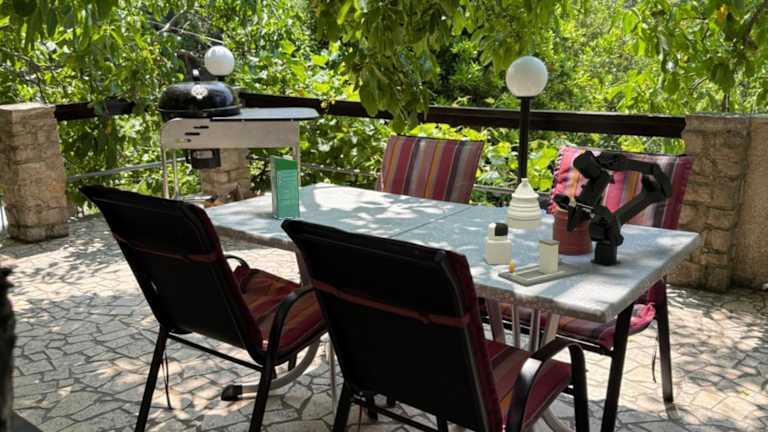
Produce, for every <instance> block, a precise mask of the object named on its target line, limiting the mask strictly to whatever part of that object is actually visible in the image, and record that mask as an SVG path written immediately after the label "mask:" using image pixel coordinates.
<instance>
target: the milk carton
mask: <svg viewBox="0 0 768 432" xmlns="http://www.w3.org/2000/svg"><path fill="white" fill-rule="evenodd" d="M269 165H270V166H269V167H270V170H269V171H270V187H271V188H270V189H271V205H272V206H271V207H272V208H271V209H272V210H271V211H272V216H273V215H275V216H276V217H277V218H284V220H286V219H285V217H286V218H287V217H297V218H296V219H300V218H301V213H300V211H301V210H300V207H301V206H300V189H299V186H300V185H299V167H298V165H299V163H298V161H297V160H295V159H294V157H293V156H291V155H286V154H283V155H282V156H279V155H274V154H273V155H272V154H269Z"/></svg>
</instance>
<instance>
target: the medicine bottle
mask: <svg viewBox="0 0 768 432" xmlns="http://www.w3.org/2000/svg"><path fill="white" fill-rule="evenodd" d="M487 228H488V231H487V232H488V234H487V235H488V236H485V237H484V260H485V261H486V262H487V264H488V265H510V262H512V243H513V242H512V241H511V240H510V238H509V227H508V225H507V224H506V223H504V222H492V223H490V224H489V225H488V227H487Z"/></svg>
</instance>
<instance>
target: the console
mask: <svg viewBox="0 0 768 432" xmlns="http://www.w3.org/2000/svg"><path fill="white" fill-rule="evenodd" d="M588 272H589V269H587V268H584V267H581V266H577V265H574V264H571V263H567V262H565V261H563V258H562V257H558V269H557V272H556V273H551V274H544V273H541V272H539V264H535V265H531V266H526V267H522V268H516V269H515V261H511V262H510V264H509V270H508V271H504V272H503V271H502V272H499V273H497V276H498V277H499V278H502V279H505V280H507V281H510V282H513V283H515V284H517V285H520V286H523V287H527V288H528V287H532V286H536V285H540V284H543V283H548V282H552V281H556V280H560V279H565V278H570V277H573V276H579V275H582V274H586V273H588Z"/></svg>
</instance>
